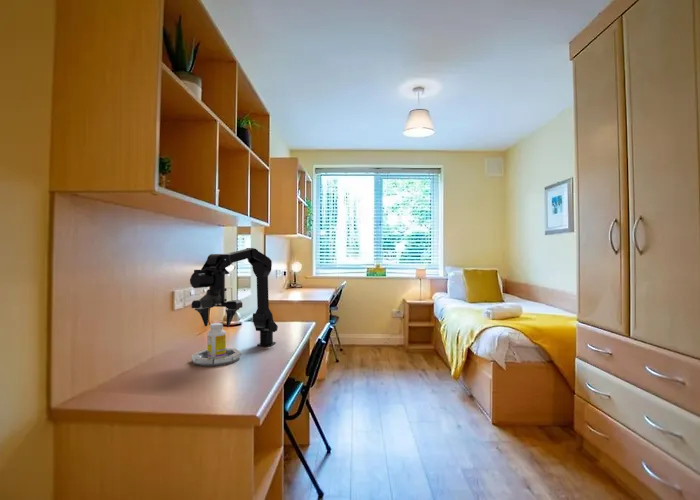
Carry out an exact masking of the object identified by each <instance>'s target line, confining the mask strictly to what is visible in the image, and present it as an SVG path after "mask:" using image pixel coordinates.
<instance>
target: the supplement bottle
mask: <svg viewBox="0 0 700 500" xmlns="http://www.w3.org/2000/svg"><path fill="white" fill-rule="evenodd" d="M223 327H224V324H223V323H222V322H221V323H220V322H216V323H215V322H214V323H210V325H209V328H210V330H209V331H208V332H207V350H208V358H220V357H225V356H226V348H227V347H226V342H227V340H226V339H227V338H226V337H227V336H226V334H227V333H226V331H225V330H224V329H223Z"/></svg>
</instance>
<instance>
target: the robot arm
mask: <svg viewBox="0 0 700 500" xmlns="http://www.w3.org/2000/svg"><path fill="white" fill-rule="evenodd" d="M206 258H207V259H206V260H205V262H204V264H203V266H202V267H201V269H194V270H193V272H192V274H191V276H190V279H189V283H190V286H191V287H192V288H193V289H202V288H209V289H207V291H206V294H205V295H204V296H202V297H200V299H193V300H192V303H191V309H194V311H196V312H197V313H199V314H200V317H201V319H202V322H203V325H204V327H208V323H209V315H210V312H209V311H210V309H212V308H214V307H217V308H219V307H221V308H222V307H224V308H226V309H224V310H225V313H226V328H229V327H230V325H231V322H232V320H233V318H234V316H235V314H236V313H237V311H239V310H240V309H241V308H243V302H242V300H241V299H239V300H238V299H237V300H235V299H234V300H233V299H232V300H228V301H227V298H226V292H227V290H228V289H227V288H226V275H230V272H229V271H228V270H227V269H226V268H228V267H230V266H231V264H234V263H237V262H239V261H244V260H247V262H248V263H249V264H250V265H251V266H252V267H251V268H252V272H253V274H254V276H255V277H256V301H257V304H256V305H257V307H256V311H255V312H254V313H252V323H253V327H254V328H255V331H256V332H259V343H257V344H256V346H258V347H271V346H273V345H275V344H276V343H277V342H276V341H274V333H275V332H277V331H278V328H279V327H278V326H279V325H277V323H276V322H275V321H274V317H273V313H272V312H271V310H270V301H269V299H270V298H269V275H270V274H271V272H272V265H273V262H272V259H271V258H270V257H269V256H267V255H266V254H264V253H262V252H261V251H259V250H258V249H257V248H255V247H246V248H244V249H241V250H237V251H234V252H233V251H232V252H229V253H212V254H211V253H210V254H209V255H208V256H207V257H206Z"/></svg>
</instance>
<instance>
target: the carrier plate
mask: <svg viewBox="0 0 700 500" xmlns="http://www.w3.org/2000/svg"><path fill="white" fill-rule="evenodd" d="M241 357H242V352H241V351H240V350H239V349H237V348H229V347H226V356H225V357H220V358H208V349H203V350H200V351H197V352H194V353H193V354H191V361H192V364H193V365H195V366H199V367H220V366H221V367H222V366H227V365H230V364H234V363H236V362H238V361H239V360H240V358H241Z"/></svg>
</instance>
